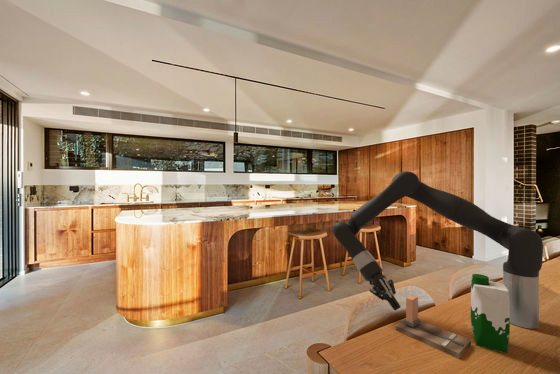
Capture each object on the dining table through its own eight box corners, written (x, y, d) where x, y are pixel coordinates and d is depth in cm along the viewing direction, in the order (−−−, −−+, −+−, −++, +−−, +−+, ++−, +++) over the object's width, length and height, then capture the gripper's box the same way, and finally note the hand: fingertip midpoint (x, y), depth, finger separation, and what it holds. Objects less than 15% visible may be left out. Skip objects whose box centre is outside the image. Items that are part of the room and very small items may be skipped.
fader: (403, 323, 85) (403, 297, 85) (411, 318, 88) (411, 294, 88) (413, 327, 83) (413, 301, 83) (420, 322, 86) (420, 297, 86)
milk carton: (469, 332, 84) (469, 270, 84) (505, 340, 79) (505, 275, 79) (472, 346, 76) (472, 278, 76) (512, 356, 71) (512, 284, 71)
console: (395, 330, 85) (395, 324, 85) (410, 320, 91) (410, 315, 91) (458, 358, 70) (458, 352, 70) (471, 345, 76) (471, 339, 76)
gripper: (362, 263, 93) (395, 309, 83) (382, 257, 101) (414, 299, 91) (350, 273, 97) (380, 319, 87) (370, 267, 105) (400, 308, 95)
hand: (397, 308), depth 89 cm, fingers closed
